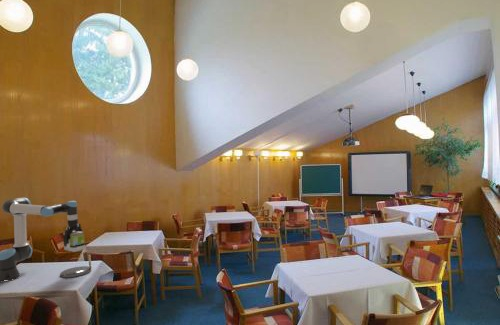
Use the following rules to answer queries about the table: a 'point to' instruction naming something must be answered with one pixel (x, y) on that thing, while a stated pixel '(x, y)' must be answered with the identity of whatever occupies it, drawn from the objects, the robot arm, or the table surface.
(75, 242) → the tea box
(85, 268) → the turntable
